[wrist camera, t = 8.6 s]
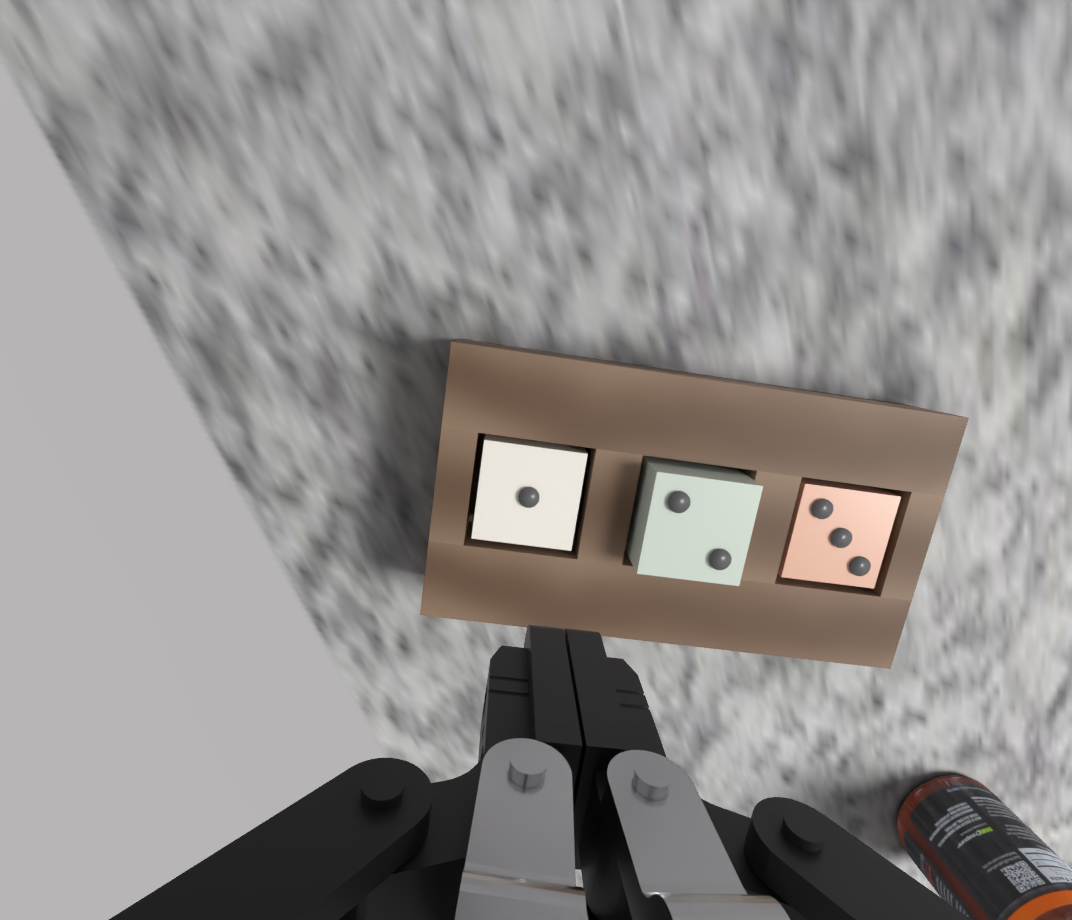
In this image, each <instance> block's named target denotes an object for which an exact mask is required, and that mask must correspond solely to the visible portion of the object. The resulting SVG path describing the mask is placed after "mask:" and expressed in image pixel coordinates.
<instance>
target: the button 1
mask: <svg viewBox="0 0 1072 920" xmlns="http://www.w3.org/2000/svg"><path fill="white" fill-rule="evenodd" d="M587 456H588V453H587V452H586V450H585V448H584V447H580V446H572V445H565V444H558V443H550V442H543V441H536V440H528V439H521V438H514V437H507V436H499V435H492V434H485V438H484V445H483V453H482V460H481V468H480V476H479V483H478V491H477V499H476V507H475V514H474V522H473V530H472V537H471V539H479V540H488V541H496V542H504V543H512V544H520V545H528V546H536V547H544V548H552V549H560V550H568V551H571V550H572V544H573V538H574V532H575V526H576V520H577V514H578V508H579V503H580V497H581V491H582V485H583V479H584V473H585V467H586V462H587Z"/></svg>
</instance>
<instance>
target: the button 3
mask: <svg viewBox="0 0 1072 920" xmlns="http://www.w3.org/2000/svg"><path fill="white" fill-rule="evenodd" d="M900 499H901V496H899V495H896V494H894V493H892V492H890V491H887V490H885V489H883V488H879V487H872V486H864V485H857V484H850V483H842V482H835V481H828V480H821V479H813V478H806V477H802V479H801V483H800V487H799V491H798V495H797V499H796V502H795V506H794V510H793V514H792V518H791V522H790V526H789V530H788V534H787V538H786V542H785V546H784V550H783V553H782V557H781V561H780V565H779V569H778V574H779V575H780V576H781V577H784V578H793V579H801V580H809V581H817V582H825V583H833V584H841V585H849V586H857V587H865V588H873V589H874V587H875V584H876V580H877V577H878V574H879V570H880V567H881V563H882V560H883V557H884V553H885V550H886V547H887V543H888V540H889V536H890V533H891V530H892V526H893V523H894V519H895V516H896V513H897V509H898V506H899V503H900Z"/></svg>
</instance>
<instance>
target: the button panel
mask: <svg viewBox="0 0 1072 920" xmlns="http://www.w3.org/2000/svg"><path fill="white" fill-rule="evenodd" d="M968 419H969V418H966V417H962V416H957V415H952V414H947V413H943V412H938V411H933V410H928V409H924V408H919V407H914V406H910V405H904V404H897V403H890V402H884V401H877V400H870V399H863V398H856V397H850V396H843V395H836V394H829V393H823V392H816V391H809V390H802V389H796V388H789V387H782V386H775V385H769V384H762V383H755V382H748V381H741V380H735V379H728V378H721V377H714V376H708V375H701V374H694V373H687V372H681V371H674V370H667V369H660V368H654V367H647V366H640V365H633V364H627V363H620V362H613V361H606V360H599V359H593V358H586V357H579V356H572V355H566V354H559V353H552V352H545V351H539V350H532V349H525V348H518V347H512V346H505V345H498V344H491V343H485V342H478V341H471V340H464V339H458V340H455V341H452V342H451V347H450V356H449V365H448V373H447V382H446V391H445V400H444V409H443V418H442V426H441V435H440V444H439V453H438V462H437V471H436V479H435V488H434V497H433V506H432V515H431V524H430V533H429V541H428V550H427V559H426V568H425V577H424V586H423V594H422V603H421V612H420V615H424V616H433V617H442V618H450V619H459V620H468V621H477V622H485V623H494V624H503V625H512V626H520V627H528V625H529V624H532V625H541V626H549V627H558V628H563V630H564V629H565V628H568V629H576V630H585V631H594V632H599V633H600V635H601V636H608V637H617V638H625V639H634V640H643V641H652V642H660V643H669V644H678V645H687V646H695V647H704V648H713V649H722V650H730V651H739V652H748V653H757V654H765V655H774V656H783V657H792V658H800V659H809V660H818V661H827V662H835V663H844V664H853V665H862V666H870V667H879V668H888V669H890V668H891V665H892V662H893V659H894V655H895V652H896V649H897V646H898V643H899V639H900V636H901V633H902V630H903V627H904V623H905V620H906V617H907V614H908V611H909V607H910V604H911V601H912V598H913V595H914V591H915V588H916V585H917V582H918V579H919V575H920V572H921V569H922V566H923V563H924V559H925V556H926V553H927V550H928V547H929V543H930V540H931V537H932V534H933V531H934V527H935V524H936V521H937V518H938V515H939V511H940V508H941V505H942V502H943V499H944V495H945V492H946V489H947V486H948V483H949V479H950V476H951V473H952V470H953V467H954V463H955V460H956V457H957V454H958V451H959V447H960V444H961V441H962V438H963V435H964V431H965V428H966V425H967V422H968ZM485 434H492V435H499V436H507V437H514V438H521V439H528V440H536V441H543V442H550V443H558V444H565V445H572V446H580V447H584V448H585V450H586V452H587V453H588V456H587V462H586V467H585V473H584V479H583V485H582V491H581V497H580V503H579V508H578V514H577V520H576V526H575V532H574V538H573V544H572V550H571V551H568V550H560V549H552V548H544V547H536V546H528V545H520V544H512V543H504V542H496V541H488V540H479V539H471V537H472V530H473V522H474V514H475V507H476V499H477V491H478V483H479V476H480V468H481V460H482V453H483V445H484V438H485ZM643 456H651V457H658V458H665V459H673V460H680V461H687V462H695V463H702V464H709V465H716V466H724V467H731V468H737V469H738V470H740V471H741V472H743V473H744V474H746V475H747V476H749V477H750V478H752V479H753V480H755V481H756V482H758V483H759V484H761V485H762V486H763V490H762V494H761V498H760V502H759V506H758V510H757V514H756V519H755V523H754V527H753V531H752V535H751V539H750V544H749V548H748V552H747V556H746V560H745V564H744V568H743V573H742V577H741V581H740V585H739V586H734V585H725V584H717V583H709V582H701V581H693V580H684V579H676V578H668V577H660V576H652V575H644V574H637V573H636V571H635V569H634V567H633V565H632V563H631V561H630V559H629V557H628V555H627V553H626V551H625V547H626V542H627V536H628V531H629V526H630V521H631V515H632V510H633V505H634V500H635V495H636V489H637V484H638V479H639V474H640V469H641V463H642V458H643ZM802 477H806V478H813V479H821V480H828V481H835V482H842V483H850V484H857V485H864V486H872V487H879V488H883V489H885V490H887V491H890V492H892V493H894V494H896V495H899V496H901V499H900V503H899V506H898V509H897V513H896V516H895V519H894V523H893V526H892V530H891V533H890V536H889V540H888V543H887V547H886V550H885V553H884V557H883V560H882V563H881V567H880V570H879V574H878V577H877V580H876V584H875V587H874V589H873V588H865V587H857V586H849V585H841V584H833V583H825V582H817V581H809V580H801V579H793V578H784V577H781V576H780V575H779V574H778V569H779V565H780V561H781V557H782V553H783V550H784V546H785V542H786V538H787V534H788V530H789V526H790V522H791V518H792V514H793V510H794V506H795V502H796V499H797V495H798V491H799V487H800V483H801V479H802Z"/></svg>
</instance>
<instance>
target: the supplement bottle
mask: <svg viewBox="0 0 1072 920" xmlns="http://www.w3.org/2000/svg"><path fill="white" fill-rule="evenodd" d="M896 826H897V833H898V837H899V840H900V842H901V844H902V845H903V847H904V848H905V850H906V851H907V852H908V854H909V856H910V857H911V858H912V860H913V861H914V863H915V864H916V865H917V866H918V868H919V869H920V871H921V872H922V873H923V874H924V876H925V877H926V878H927V880H928V881H929V882H930V883H931V885H932V886H933V887H934V889H935V890H936V891H937V893H938V894H939V895H940V897H941V898H942V899H943V900H945V901H946V902H947V903H949V904H950V905H952V906H953V907H954V908H956V909H957V910H959V911H960V912H961V913H963V914H964V915H966V916H967V917H969V918H970V919H971V920H1072V869H1071V868H1070V867H1069V866H1068V865H1067V864H1066V863H1065V862H1064V861H1063V860H1062V859H1061V858H1060V857H1059V856H1057V855H1056V853H1055V852H1054V851H1053V850H1051V849H1050V848H1049V847H1048V846H1047V845H1046V844H1045V843H1044V842H1043V841H1042V840H1041V839H1040V838H1039V837H1038V836H1037V835H1036V834H1035V833H1034V832H1033V831H1032V830H1031V829H1030V828H1029V827H1028V826H1026V825H1025V824H1024V823H1023V822H1022V821H1021V820H1020V819H1019V818H1018V817H1017V816H1016V815H1015V814H1014V813H1013V812H1012V811H1011V810H1010V809H1009V808H1008V807H1007V806H1006V805H1005V804H1004V803H1002V802H1001V800H1000V799H999V798H998V797H997V796H996V795H994V794H993V793H992V792H991V791H990V790H989V789H987V788H986V787H985V786H984V785H983V784H981V783H980V782H978V781H976V780H974V779H971V778H968V777H965V776H958V775H948V776H942V777H937V778H934V779H931V780H929V781H927V782H926V783H923V784H922V785H920V786H918V787H917V788H916V789H914V790H913V791H912V793H910V794H909V796H908V797H907V798H906V799H905V801H904V802H903V804H902V806H901V808H900V810H899V813H898V817H897V823H896Z"/></svg>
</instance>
